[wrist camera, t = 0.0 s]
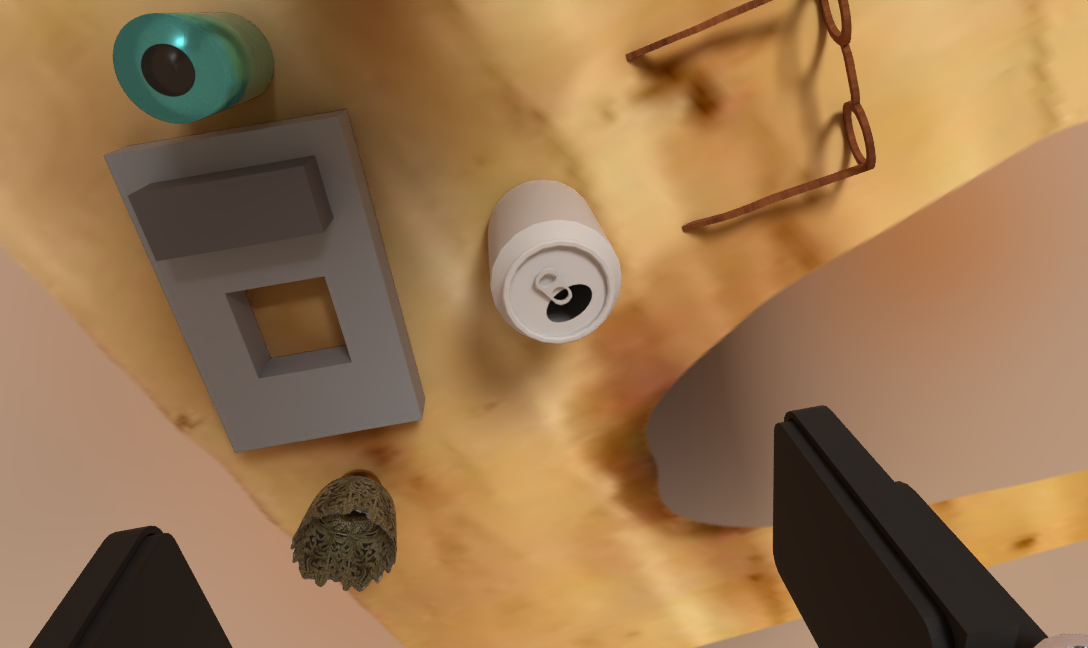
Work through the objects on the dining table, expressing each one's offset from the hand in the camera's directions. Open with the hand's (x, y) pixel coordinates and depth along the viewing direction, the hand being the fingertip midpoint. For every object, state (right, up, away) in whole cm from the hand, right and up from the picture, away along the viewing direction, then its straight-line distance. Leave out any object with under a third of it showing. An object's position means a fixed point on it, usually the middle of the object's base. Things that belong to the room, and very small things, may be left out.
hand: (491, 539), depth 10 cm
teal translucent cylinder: (-18, +20, +30) cm, 40 cm away
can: (+1, +10, +36) cm, 38 cm away
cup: (-14, -10, +44) cm, 48 cm away
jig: (-17, +6, +36) cm, 40 cm away
